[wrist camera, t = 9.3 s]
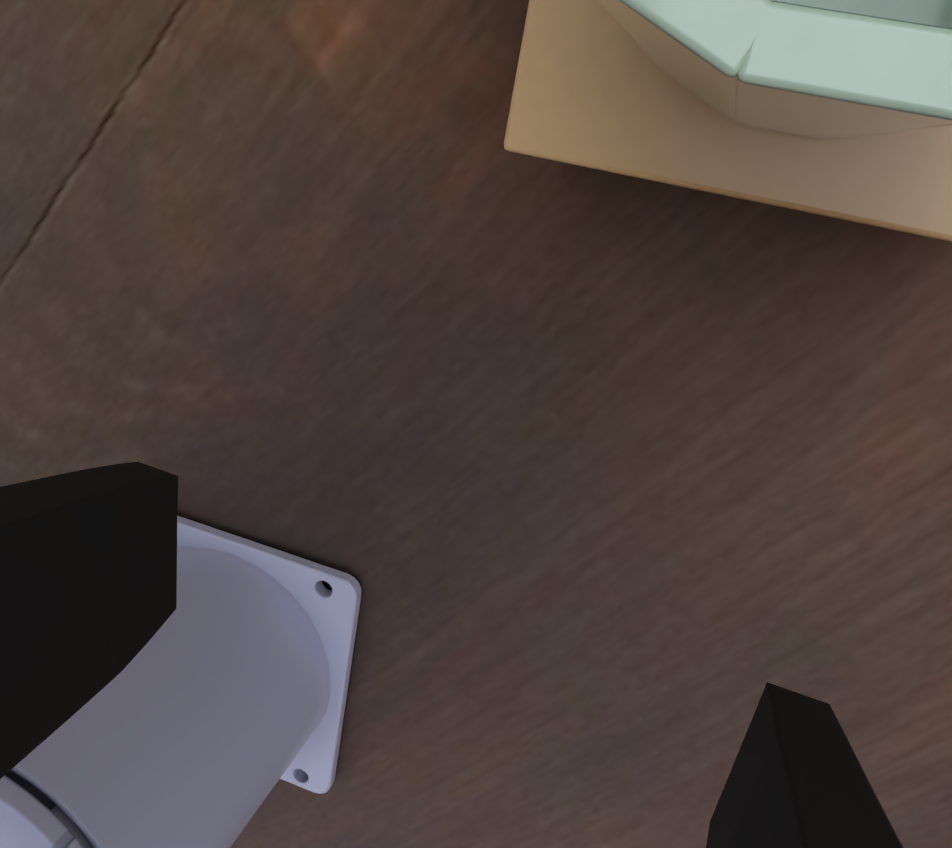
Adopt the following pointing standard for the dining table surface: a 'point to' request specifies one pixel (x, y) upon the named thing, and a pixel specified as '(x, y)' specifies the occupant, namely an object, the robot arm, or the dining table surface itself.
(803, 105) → the cup
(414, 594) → the dining table surface
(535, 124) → the block
